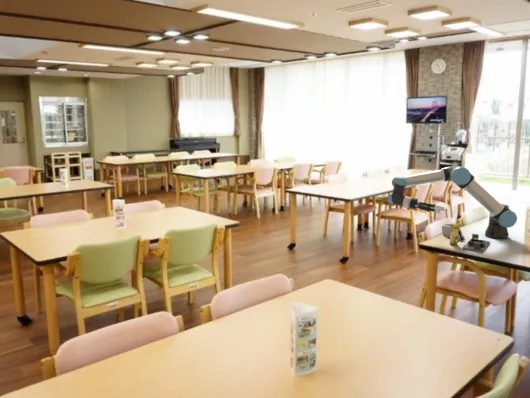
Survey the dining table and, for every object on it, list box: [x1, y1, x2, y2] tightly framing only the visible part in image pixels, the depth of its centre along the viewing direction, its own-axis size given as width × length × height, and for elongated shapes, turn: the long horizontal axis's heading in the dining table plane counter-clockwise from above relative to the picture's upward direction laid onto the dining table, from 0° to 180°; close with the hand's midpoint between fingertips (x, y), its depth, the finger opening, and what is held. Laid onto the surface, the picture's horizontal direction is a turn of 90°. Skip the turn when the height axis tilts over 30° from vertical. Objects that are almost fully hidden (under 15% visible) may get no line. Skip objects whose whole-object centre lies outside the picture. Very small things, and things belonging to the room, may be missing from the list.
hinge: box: [441, 223, 465, 241], centre depth 339 cm, size 17×5×10 cm, turn 22°
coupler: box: [449, 223, 462, 247], centre depth 317 cm, size 6×6×14 cm
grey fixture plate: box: [462, 233, 491, 253], centre depth 315 cm, size 27×12×5 cm, turn 147°
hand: (442, 210), depth 320 cm, fingers open, 13 cm apart
